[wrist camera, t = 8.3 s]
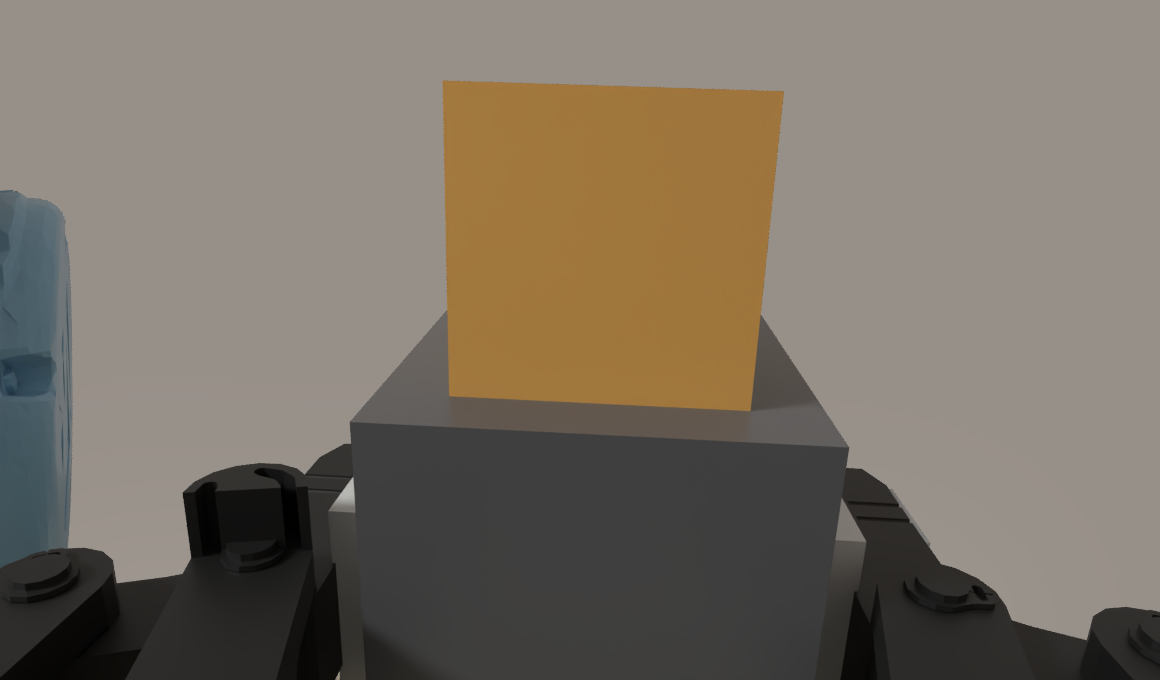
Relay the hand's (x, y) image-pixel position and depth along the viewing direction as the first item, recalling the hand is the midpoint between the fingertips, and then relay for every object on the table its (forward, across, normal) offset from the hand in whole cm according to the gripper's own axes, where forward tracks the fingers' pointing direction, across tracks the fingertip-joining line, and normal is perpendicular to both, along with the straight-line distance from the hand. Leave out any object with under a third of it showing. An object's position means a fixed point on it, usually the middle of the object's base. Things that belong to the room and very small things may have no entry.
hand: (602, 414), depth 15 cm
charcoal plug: (-5, 0, -7) cm, 9 cm away
